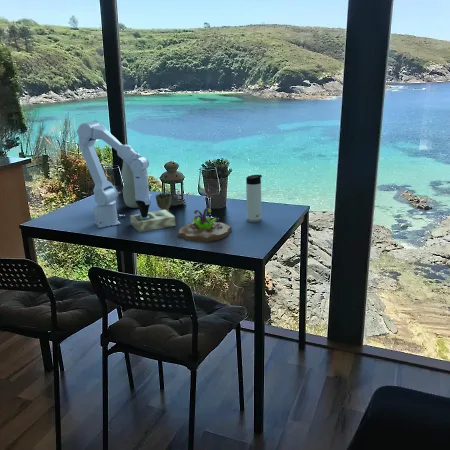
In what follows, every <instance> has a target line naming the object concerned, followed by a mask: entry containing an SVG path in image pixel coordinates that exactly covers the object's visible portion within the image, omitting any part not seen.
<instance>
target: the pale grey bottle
mask: <svg viewBox="0 0 450 450" xmlns="http://www.w3.org/2000/svg"><path fill="white" fill-rule="evenodd" d="M133 150H134V151H135V152H136V153H137V154H138V151H137V150H136V149H133ZM121 176H122V179H123V183H124V191H123V190H122V195H123V201H124V204H125V205H126V206H127V207H129V208H130V209H139V207H138V205H137V204H136V202H135V201H139V200H137V199H135V196H136V195H135V185H134V175H133V171H132V170H131V169H130V165H129V164H128V163H126V162H125V161H124V160H123V159H122V168H121V175H120V177H121Z"/></svg>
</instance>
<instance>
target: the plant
mask: <svg viewBox="0 0 450 450" xmlns="http://www.w3.org/2000/svg"><path fill="white" fill-rule="evenodd" d="M206 212H208V213H211V212H212V210H211V208H209V207H206V208H204V210H203V213H202V212H201V211H200V210H199V209H196V210H194V211H193V214H194V215H196V214H197V213H198V214H199V215H198V214H197V215H196V216H194V217H193V218H192V220H191V221H192V222H189V223H186V224H185V225H184V226H182V227H180V228H179V229H178V231H177V232H178V238H182V239H185V241H191V242H192V241H193V242H200V243H201V242H202V243H209V242H212V241H219V240H222V239H223V238H226V237H228V236H229V233H231V232H232V231H233V230H232V229H233V227H232V226H230V225H229V224H227V223H224V222H219V221H218V222H217V221H216V220H217V218H215V217H213V218H212V219H211V220H210V217H209V216H206Z"/></svg>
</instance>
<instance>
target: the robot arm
mask: <svg viewBox="0 0 450 450" xmlns="http://www.w3.org/2000/svg"><path fill="white" fill-rule="evenodd" d="M76 133H77V136H78V147H79V149H80V152H81V154H82V157H83V160H84V161H85V164H86V166H87V169H88V171H89V174H90V176H91V178H92V180H93V184H94V187H93V190H92V192H93V195H94V201H95V203H96V204H97V205H94V206H93V213H94V224H95V225H96V226H97V228H100V229H101V228H106V226H107V227H111V225H112V226H119V225H121V222H120V221H119V219H118V211H117V199H118V196H119V193H118V190H117V189H116V188H115V187H114V185H113V183H112V182H111V181H109V180H108V179H107V176H106V174H105V171H104V169H103V166H102V164H101V161H100V159H99V157H98V154H97V152H96V150H95V147H94V144H95V143H96V140H102V141H103V142H105V143H106V144H107V145H109V146H110V147H111V148H112V149H114V150H115V151H116V153H117V156H118V157H119V158H121V159H122V161H123V160H124V161H125V162H126V163H128V164H129V165H130V169H131V170H132V171H133V175H134V185H135V195H136V196H135V199H137V200H139V201H135V202H136V204H137V205H138V210H139V214H141V216H142V218H144V217H147V216H148V212H149V208H150V206H151V203H152V201H151V198H152V197H153V194H151V193H150V187H149V178H148V177H149V176H148V168H149V167H150V161H149V160H148V158H147V157H146V156H145V155H141V154H140V153H138V154H137V153H136V152H135V151H136V150H135V149H133V148H132V146H131V145H130V144H122V142H120V141H119V140H118V139H117V137H115V136H114V135H113V134H112V133H111V132H110V131H109V130H108V129H107V128H106V126H105V125H104V124H102V123H101V122H100V121H98V120H92V121H89V122H83V123H81V124H80V125H78V128H77V130H76ZM134 150H135V151H134Z"/></svg>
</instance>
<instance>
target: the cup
mask: <svg viewBox="0 0 450 450" xmlns="http://www.w3.org/2000/svg"><path fill="white" fill-rule="evenodd" d="M154 197H155V200H156V205H157V207H158V208H159V209H160V210H167V211H168V212H169V210H170V209H169V208H170V207H171V205H172V197H173V196H172V194H171V193H170V192H166V193H165V194H164V193H159V194H158V193H157V194H156V195H154Z"/></svg>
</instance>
